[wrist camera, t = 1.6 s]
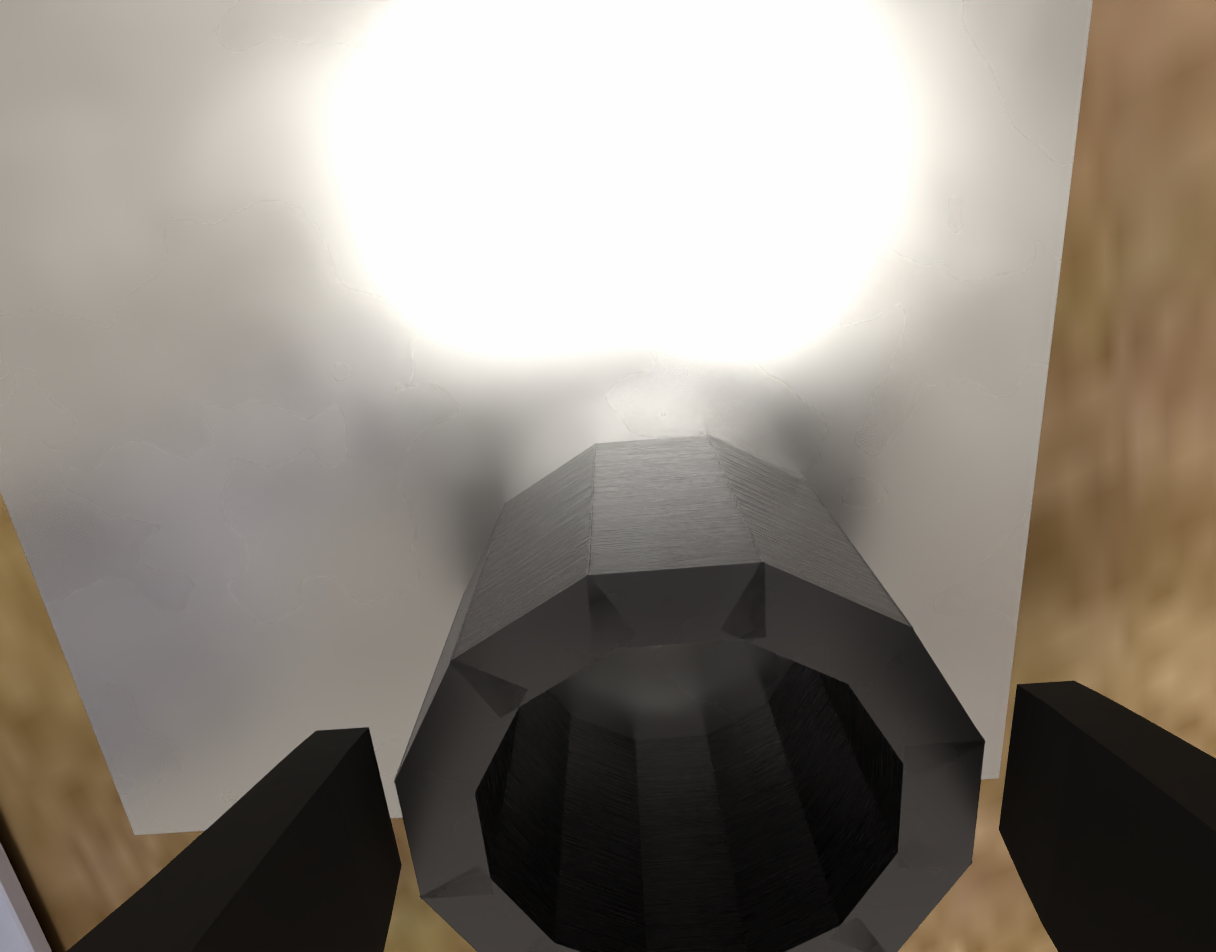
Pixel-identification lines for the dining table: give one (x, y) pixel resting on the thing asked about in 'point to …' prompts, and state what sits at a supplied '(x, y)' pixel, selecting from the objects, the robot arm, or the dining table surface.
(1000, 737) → the post stand
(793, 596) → the iron ring
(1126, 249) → the dining table surface
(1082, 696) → the robot arm
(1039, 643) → the dining table surface
